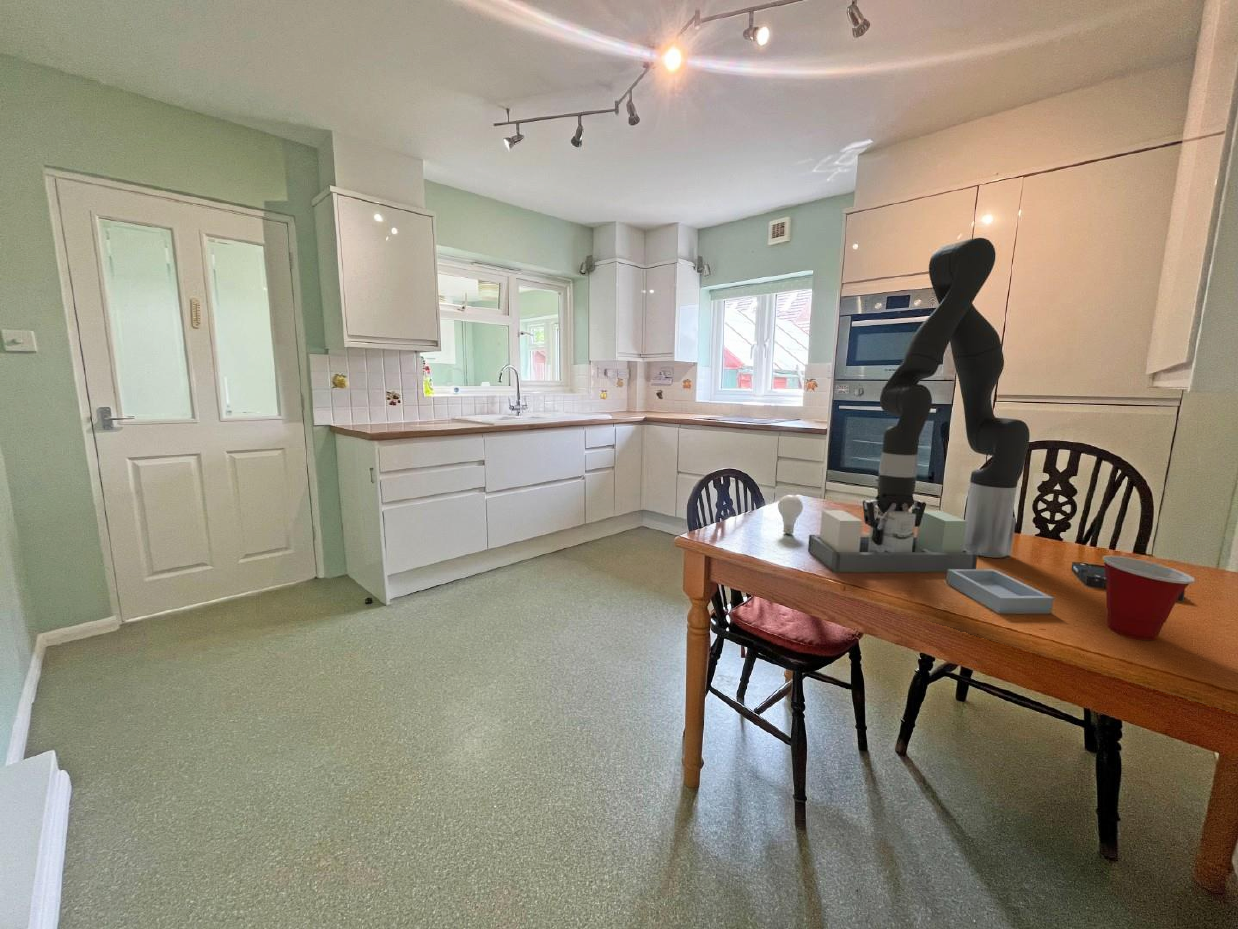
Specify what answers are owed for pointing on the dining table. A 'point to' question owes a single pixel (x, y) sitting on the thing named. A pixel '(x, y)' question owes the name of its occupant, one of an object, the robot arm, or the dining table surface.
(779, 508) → the lightbulb
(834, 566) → the holder
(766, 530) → the dining table surface
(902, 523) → the ink box
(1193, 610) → the dining table surface
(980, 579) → the tray
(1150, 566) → the plastic cup
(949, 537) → the sage block
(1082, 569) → the disk drive
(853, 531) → the cream block
